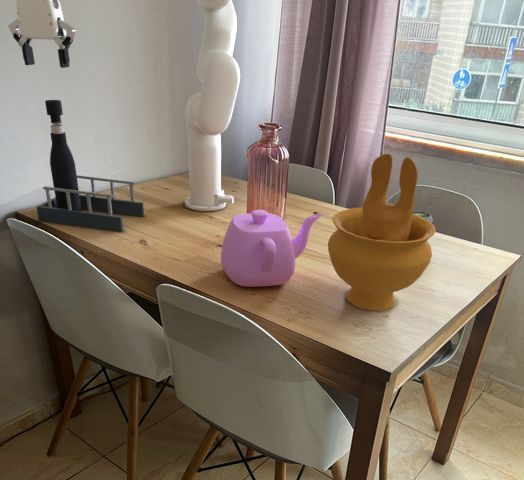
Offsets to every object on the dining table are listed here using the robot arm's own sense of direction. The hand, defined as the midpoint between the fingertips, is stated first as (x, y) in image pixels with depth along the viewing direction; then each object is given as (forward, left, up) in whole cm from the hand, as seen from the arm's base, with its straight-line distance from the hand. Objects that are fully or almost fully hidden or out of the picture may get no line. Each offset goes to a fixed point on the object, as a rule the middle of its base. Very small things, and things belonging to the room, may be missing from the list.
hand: (47, 66), depth 135 cm
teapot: (-61, +21, -38) cm, 75 cm away
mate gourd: (-96, -13, -38) cm, 105 cm away
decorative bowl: (-87, +25, -38) cm, 99 cm away
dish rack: (-7, 0, -38) cm, 39 cm away
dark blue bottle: (0, 0, -38) cm, 38 cm away
